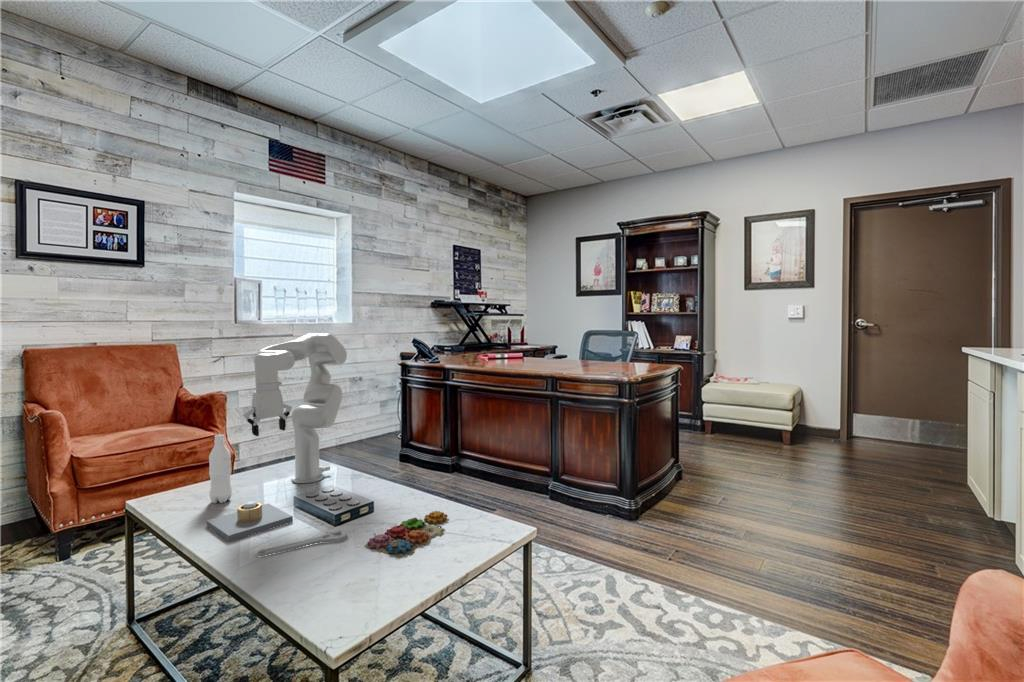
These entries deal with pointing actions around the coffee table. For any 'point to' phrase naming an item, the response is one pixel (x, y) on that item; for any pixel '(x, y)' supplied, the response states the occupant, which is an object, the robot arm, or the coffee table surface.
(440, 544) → the coffee table surface
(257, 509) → the bronze ring
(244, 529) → the stand
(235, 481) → the coffee table surface
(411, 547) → the gear puzzle
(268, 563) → the coffee table surface
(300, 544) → the adjustable wrench
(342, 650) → the coffee table surface
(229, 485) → the water bottle
